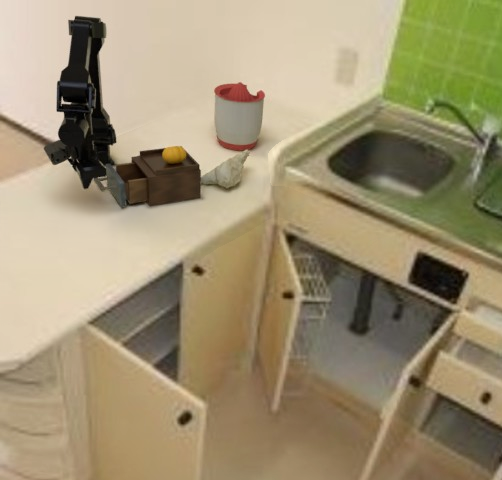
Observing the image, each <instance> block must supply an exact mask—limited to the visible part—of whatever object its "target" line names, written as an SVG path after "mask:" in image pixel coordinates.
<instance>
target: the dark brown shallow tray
mask: <svg viewBox="0 0 502 480" xmlns="http://www.w3.org/2000/svg"><path fill="white" fill-rule="evenodd" d="M179 146H180V147H182V148H184V147H183V146H182V145H179ZM166 148H167V147H162V148H154V149H145V150H139V156H140V157H141V158H142V159H143V160H144V162H145V163H146V164H147V165H148V166H149V168H150V169H151V170H152V171H153V172H154V173H155V175H156V176H160V175H167V174H174V173H181V172H188V171H195V170H199V169H200V164H199V162H198V161H196V160H195V158H193V156H192V155H191V154H190V153H189V152H188V151H187V150H186V149H185V151H186V159H185V160H184V161H183V162H181V163H175V164H169V163H167V162H165V161H164V159H163V157H162V153H163V151H164V149H166Z"/></svg>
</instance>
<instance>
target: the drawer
mask: <svg viewBox="0 0 502 480" xmlns="http://www.w3.org/2000/svg"><path fill="white" fill-rule="evenodd" d="M105 168H106V174H107V175H106V176H105V177H99V178H93V179H92V181H93V183H94V184H95V185H96V187H97V188H98V190H99V192H101V193H104V192H105V191H106V190H107V191H108V190H109V192H110V193H111V194H112V196H113V197H114V199H115V200H116V201H117V203H118V204H119V205H120V207H121V208H124V207H125V208H126V207H127V202H128V203H129V204H130V205H131V204H138V203H143V202H146V201H149V196H148V178H147V177H146V176H145V175H144V174H143V172H142V171H141V170H140V169H139V167H138V166H137V165H136V164H135V163H134V162H132V161H131V162H125V163H117V164H116V163H115V168H114V166H113V165H111V164H106V166H105ZM104 181H106V186H105V185H104V184H103V183H102V182H104Z"/></svg>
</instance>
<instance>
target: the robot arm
mask: <svg viewBox="0 0 502 480" xmlns="http://www.w3.org/2000/svg"><path fill="white" fill-rule="evenodd" d="M67 24H68V36H70V37H71V39H70V45H69V46H70V47H69V55H68V63H67V66H66V67H65V68H63V69H62V70H61V71H60V77H59V80H57V83H56V106H55V107H56V112H57V113H63V119H62V122H61V124H60V125H59V128H58V131H57V136H58V140H55V141H53V142H51V143H49V144H46V145H45V146H43V151H44V152H45V154H46V156H47V157H48V159H49V161H50V162H51V164H52V165H53V166H58V165H59V164H62V163H64V162H66V161H68V163H69V165H70V166H71V167H72V169H73V170H74V172H76V174H77V176H78V178H79V180H80V183H81V186H82V188H83V189H84V190H88V189H89V188H90V185H91V183H92V181H93V178H105V177H107V176H106V175H107V174H106V164H111V166H113V165H116V163H115V161H114V159H113V158H112V157H111V146H114V145H115V144H117V134H116V130H115V128H114V126H113V124H112V123H111V117H110V115H109V113H108V112H107V110H106V108H104V101H103V86H102V72H101V60H100V52H101V50H102V48H103V46H104V44H105V41H106V40H105V39H107V24H106V22H104V21H102V19H101V17H95V16H94V17H93V16H82V15H75V16H74V19H68V20H67ZM62 101H63V102H64V103H62Z"/></svg>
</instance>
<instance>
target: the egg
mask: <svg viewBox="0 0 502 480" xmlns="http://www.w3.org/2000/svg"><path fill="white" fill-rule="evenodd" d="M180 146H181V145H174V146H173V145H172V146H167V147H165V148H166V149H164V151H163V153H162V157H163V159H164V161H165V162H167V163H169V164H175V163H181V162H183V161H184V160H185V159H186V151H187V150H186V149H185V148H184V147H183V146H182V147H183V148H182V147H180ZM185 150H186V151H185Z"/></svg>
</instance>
